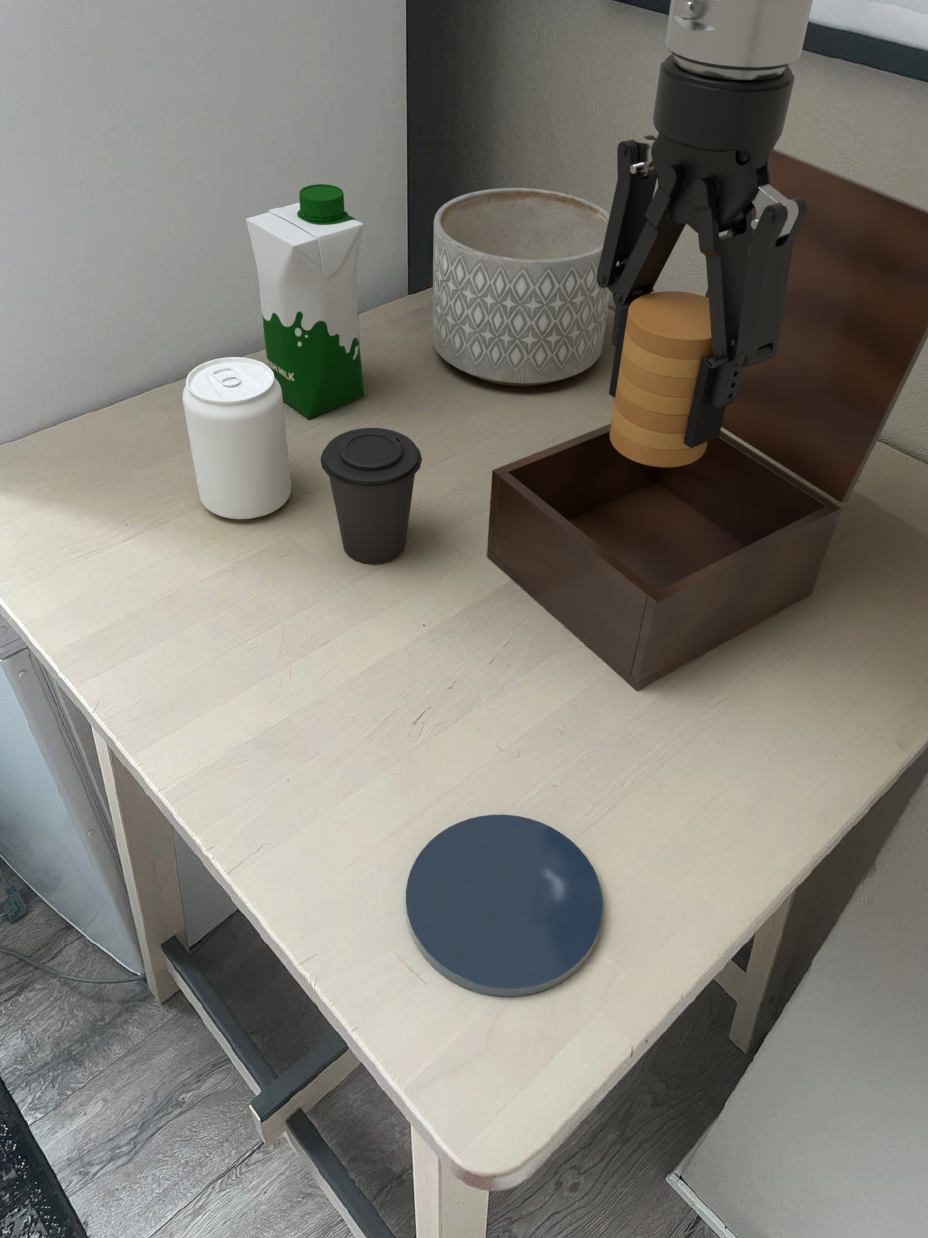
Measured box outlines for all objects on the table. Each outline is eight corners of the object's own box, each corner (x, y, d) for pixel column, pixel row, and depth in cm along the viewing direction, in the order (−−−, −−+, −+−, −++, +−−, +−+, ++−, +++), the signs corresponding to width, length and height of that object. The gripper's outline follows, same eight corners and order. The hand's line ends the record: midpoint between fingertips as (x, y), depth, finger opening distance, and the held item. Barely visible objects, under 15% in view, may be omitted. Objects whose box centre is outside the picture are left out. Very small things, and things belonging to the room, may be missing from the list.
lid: (974, 230, 67) (1010, 231, 70) (757, 143, 78) (797, 147, 81) (841, 503, 79) (877, 493, 82) (669, 394, 90) (707, 389, 93)
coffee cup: (440, 537, 89) (442, 439, 82) (383, 588, 84) (381, 488, 77) (365, 504, 92) (361, 407, 85) (307, 551, 87) (298, 452, 80)
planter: (476, 298, 122) (482, 175, 113) (624, 336, 117) (643, 209, 107) (401, 367, 110) (400, 235, 100) (562, 413, 104) (578, 278, 95)
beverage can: (222, 535, 88) (203, 414, 80) (186, 487, 93) (164, 369, 85) (307, 506, 92) (297, 387, 83) (267, 461, 96) (254, 345, 88)
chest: (636, 691, 77) (656, 602, 70) (486, 556, 87) (492, 469, 81) (812, 593, 85) (842, 507, 79) (655, 482, 96) (672, 399, 90)
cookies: (726, 448, 74) (757, 322, 68) (655, 478, 71) (680, 349, 65) (659, 405, 78) (682, 282, 72) (589, 432, 75) (606, 306, 69)
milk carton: (377, 397, 106) (372, 200, 92) (305, 427, 101) (288, 225, 87) (325, 363, 110) (313, 171, 96) (254, 391, 106) (231, 194, 92)
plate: (641, 926, 62) (644, 918, 62) (483, 1037, 57) (483, 1029, 56) (520, 794, 69) (521, 785, 69) (368, 882, 64) (367, 873, 63)
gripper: (564, 27, 62) (534, 369, 77) (825, 120, 50) (728, 501, 66) (655, 13, 65) (608, 344, 81) (919, 97, 54) (805, 465, 69)
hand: (662, 414), depth 73 cm, fingers closed on cookies, 7 cm apart
